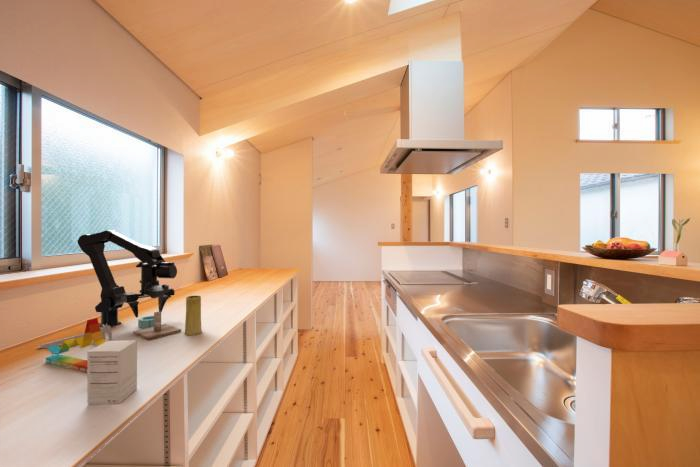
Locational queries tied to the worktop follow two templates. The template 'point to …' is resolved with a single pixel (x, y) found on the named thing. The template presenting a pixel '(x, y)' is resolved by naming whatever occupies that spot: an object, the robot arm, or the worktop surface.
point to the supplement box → (111, 372)
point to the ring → (146, 322)
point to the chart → (90, 334)
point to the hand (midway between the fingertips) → (148, 314)
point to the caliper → (57, 342)
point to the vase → (193, 315)
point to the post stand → (156, 329)
